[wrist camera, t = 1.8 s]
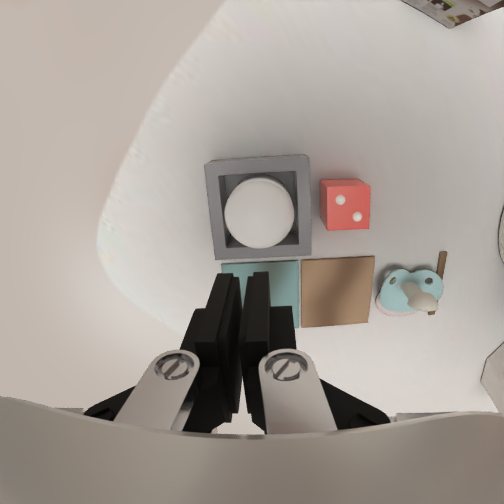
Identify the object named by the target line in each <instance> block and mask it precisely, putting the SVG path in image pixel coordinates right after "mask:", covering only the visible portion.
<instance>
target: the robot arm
mask: <svg viewBox="0 0 504 504" xmlns="http://www.w3.org/2000/svg"><path fill="white" fill-rule="evenodd" d="M499 250H500V255H501V258H502V261H503V263H504V211H503V215H502V218H501V223H500V229H499ZM242 376H243V383H244V390H245V397H246V404H247V411H248V413H251V416H252V422H253V423H254V424H256V425H257V426H258V427H260V428H261V429H262V430H263V431H264V433H265V435H236V434H235V435H234V434H217V427H218V426H219V425H221V424H222V423H224V422H226V423H231V420H232V413H238V410H239V402H240V392H241V384H242ZM0 504H504V414H500V413H495V412H481V411H466V412H439V413H397V414H396V416H395V417H388V416H387V415H386V414H385V413H383V412H382V411H381V410H379V409H377V408H375V407H373V406H371V405H369V404H367V403H365V402H363V401H361V400H359V399H357V398H355V397H353V396H351V395H350V394H348V393H346V392H344V391H342V390H340V389H338V388H336V387H334V386H333V385H331V384H329V383H327V382H325V381H323V380H322V379H320V378H319V376H318V374H317V371H316V368H315V365H314V363H313V361H312V359H311V358H310V356H308V355H307V354H306V353H304V352H302V351H299V350H297V349H296V339H295V329H294V320H293V311H292V305H291V306H271V299H270V282H269V271H263V272H253V276H248V278H247V284H246V291H245V298H244V305H243V308H242V298H241V289H240V280H239V277H234V275H233V273H218V274H217V276H216V279H215V282H214V285H213V287H212V290H211V293H210V296H209V299H208V302H207V305H206V308H201V309H195V311H194V313H193V316H192V318H191V321H190V323H189V326H188V329H187V331H186V334H185V336H184V339H183V342H182V344H181V347H180V350H172V351H167V352H165V353H162V354H161V355H159V356H157V357H156V358H155V359H154V360H153V361H152V362H151V364H150V365H149V367H148V368H147V370H146V371H145V373H144V374H143V376H142V378H141V379H140V381H139V382H138V384H137V385H136V386H134V387H132V388H130V389H127V390H125V391H123V392H121V393H119V394H117V395H115V396H113V397H111V398H109V399H107V400H104V401H102V402H100V403H98V404H95V405H94V406H92V407H90V408H89V409H88V410H87V411H86V412H85V410H84V409H83V408H52V407H48V406H45V405H42V404H37V403H34V402H30V401H26V400H21V399H16V398H11V397H1V396H0Z"/></svg>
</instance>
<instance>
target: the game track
mask: <svg viewBox="0 0 504 504" xmlns="http://www.w3.org/2000/svg"><path fill="white" fill-rule="evenodd" d="M446 256H447V252H440V254H439V260H438V266H437V272H436V274H437V275H438V276H439V277H440V278H441V280H442V279H443V273H444V268H445V262H446ZM374 263H375V257H374V256H364V257H346V258H328V259H310V260H301V327H302V328H307V327H322V326H335V325H347V324H358V323H368V316H369V309H370V301H371V292H372V283H373V274H374ZM221 267H222V273H233V275H234V277H239V280H240V289H241V298H242V308H243V305H244V298H245V291H246V284H247V278H248V276H253V272H263V271H269V282H270V299H271V306H291V305H292V311H293V320H294V328H299V278H298V260H290V261H270V262H250V263H229V264H221ZM437 302H438V300H437ZM435 311H436V310H435ZM435 311H428V315H433V314H435Z"/></svg>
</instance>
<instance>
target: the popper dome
mask: <svg viewBox="0 0 504 504" xmlns="http://www.w3.org/2000/svg"><path fill="white" fill-rule="evenodd" d="M293 221H294V208H293V204H292V201H291V197H290V195H289V192H288V190H287V189H286V187H285V186H284V185H283V184H282V183H281V182H280V181H278V180H277V179H275V178H273V177H270V176H266V175H254V176H250V177H248V178H246V179H244V180H242V181H241V182H240V183H239V184H238V185H237V186H236V187H235V188H234V190H233V192H232V193H231V195H230V197H229V198H228V200H227V203H226V206H225V222H226V225H227V227H228V230H229V231H230V233H231V234H232V236H233V237H234V238H235V239H236V240H237V241H239V242H240V243H241V244H243V245H245V246H248V247H251V248H260V249H261V248H268V247H271V246H274V245H275V244H277V243H279V242H280V241H282V240H283V239H284V238H285V237H286V235H287V234H288V233H289V231H290V229H291V227H292V225H293Z"/></svg>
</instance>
